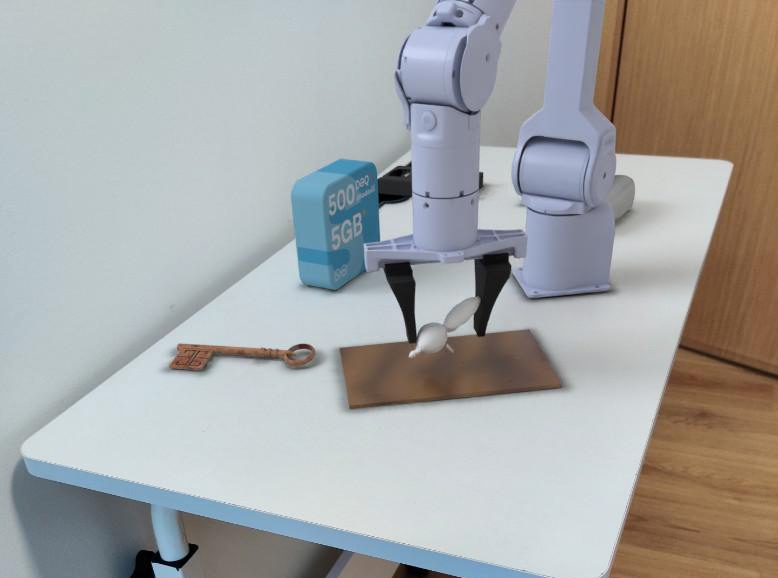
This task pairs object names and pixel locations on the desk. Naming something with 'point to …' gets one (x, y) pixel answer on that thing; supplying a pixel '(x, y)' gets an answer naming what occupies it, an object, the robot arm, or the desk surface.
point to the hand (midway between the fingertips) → (445, 335)
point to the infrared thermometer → (621, 195)
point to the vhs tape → (402, 181)
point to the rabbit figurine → (444, 327)
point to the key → (202, 357)
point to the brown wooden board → (445, 369)
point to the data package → (335, 221)
